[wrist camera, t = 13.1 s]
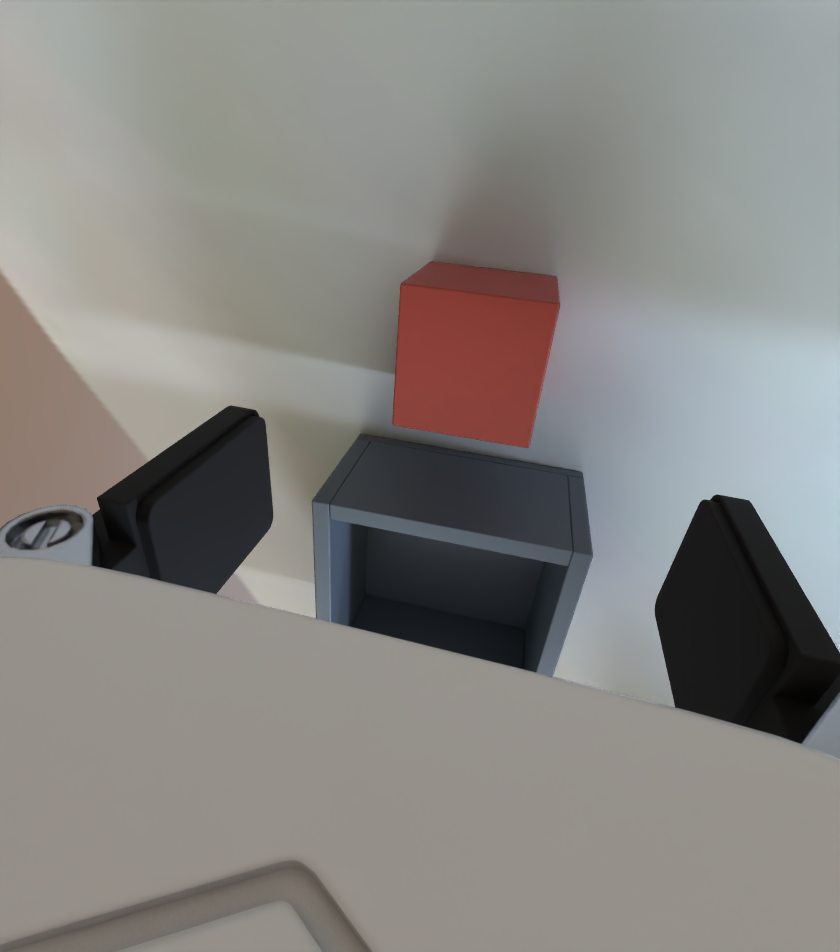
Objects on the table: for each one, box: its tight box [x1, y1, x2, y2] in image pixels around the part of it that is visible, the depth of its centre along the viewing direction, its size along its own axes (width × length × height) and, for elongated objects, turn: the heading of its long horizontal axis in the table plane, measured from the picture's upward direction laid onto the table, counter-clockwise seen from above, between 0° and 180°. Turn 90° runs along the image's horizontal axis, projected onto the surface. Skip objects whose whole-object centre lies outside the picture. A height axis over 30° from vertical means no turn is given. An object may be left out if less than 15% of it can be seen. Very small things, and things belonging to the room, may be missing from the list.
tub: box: [312, 434, 593, 677], centre depth 26 cm, size 12×12×7 cm
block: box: [392, 261, 560, 448], centre depth 21 cm, size 5×5×5 cm
